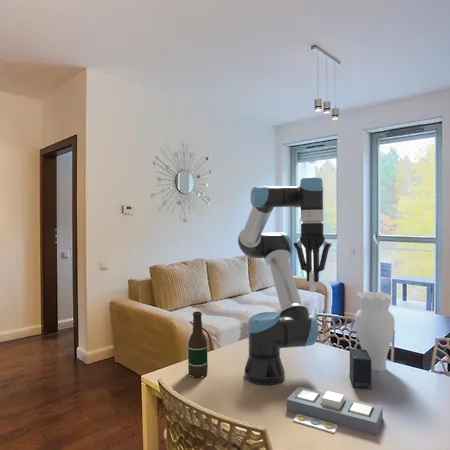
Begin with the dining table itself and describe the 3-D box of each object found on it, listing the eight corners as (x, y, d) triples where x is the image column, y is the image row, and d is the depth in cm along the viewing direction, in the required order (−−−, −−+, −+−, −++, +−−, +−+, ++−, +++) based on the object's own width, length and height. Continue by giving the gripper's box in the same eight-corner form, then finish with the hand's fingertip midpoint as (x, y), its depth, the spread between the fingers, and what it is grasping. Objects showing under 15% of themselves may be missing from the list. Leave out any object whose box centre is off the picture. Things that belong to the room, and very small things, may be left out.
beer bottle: (184, 376, 139) (183, 313, 139) (193, 368, 146) (192, 309, 146) (202, 379, 136) (202, 315, 136) (211, 371, 143) (210, 310, 143)
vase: (375, 377, 135) (374, 299, 135) (347, 363, 149) (346, 292, 149) (404, 370, 141) (403, 295, 141) (374, 358, 155) (373, 289, 154)
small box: (372, 389, 126) (372, 359, 126) (352, 388, 127) (352, 358, 127) (367, 376, 136) (366, 348, 136) (348, 375, 138) (348, 347, 138)
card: (293, 421, 107) (293, 419, 107) (298, 415, 110) (298, 413, 110) (334, 433, 100) (334, 431, 100) (338, 426, 103) (338, 424, 103)
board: (286, 410, 113) (286, 399, 113) (298, 397, 121) (298, 386, 121) (376, 435, 99) (376, 422, 99) (382, 418, 107) (382, 406, 107)
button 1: (296, 404, 113) (296, 396, 113) (302, 397, 118) (302, 389, 118) (313, 408, 111) (313, 400, 111) (318, 401, 115) (318, 393, 115)
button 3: (349, 418, 105) (349, 409, 105) (354, 410, 109) (353, 402, 109) (368, 423, 102) (368, 414, 102) (372, 414, 106) (372, 406, 106)
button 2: (322, 405, 109) (322, 397, 109) (327, 398, 114) (327, 390, 114) (339, 410, 106) (339, 402, 106) (344, 402, 111) (344, 394, 111)
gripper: (289, 222, 125) (290, 291, 126) (327, 222, 118) (328, 294, 119) (297, 222, 132) (298, 287, 132) (334, 222, 125) (335, 291, 125)
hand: (312, 291), depth 125 cm, fingers closed
